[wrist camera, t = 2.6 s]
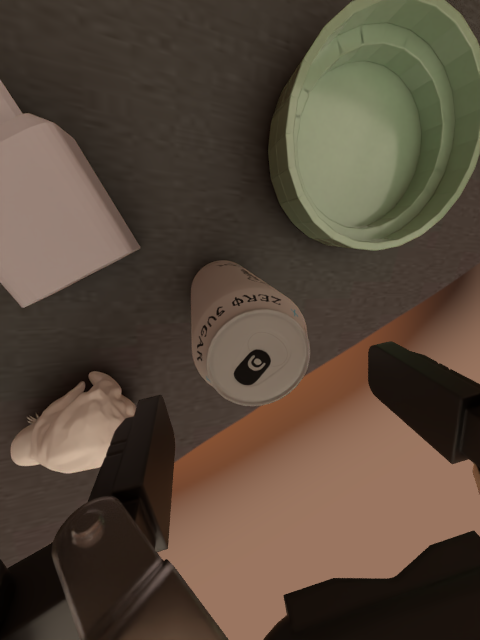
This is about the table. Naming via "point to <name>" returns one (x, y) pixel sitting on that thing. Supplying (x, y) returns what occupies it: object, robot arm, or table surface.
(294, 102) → the bowl
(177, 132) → the table surface
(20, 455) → the white animal figurine
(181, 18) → the table surface
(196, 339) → the energy drink can
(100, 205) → the charger
